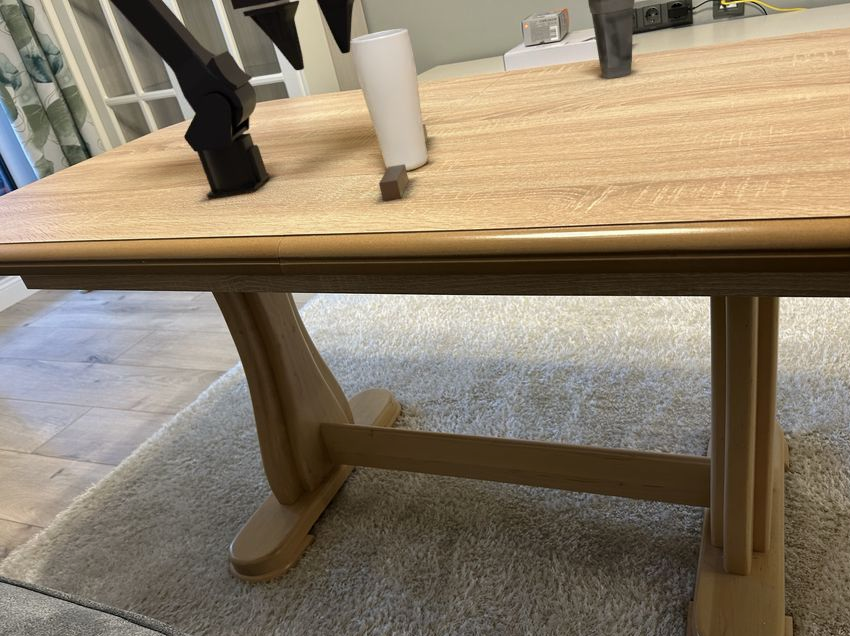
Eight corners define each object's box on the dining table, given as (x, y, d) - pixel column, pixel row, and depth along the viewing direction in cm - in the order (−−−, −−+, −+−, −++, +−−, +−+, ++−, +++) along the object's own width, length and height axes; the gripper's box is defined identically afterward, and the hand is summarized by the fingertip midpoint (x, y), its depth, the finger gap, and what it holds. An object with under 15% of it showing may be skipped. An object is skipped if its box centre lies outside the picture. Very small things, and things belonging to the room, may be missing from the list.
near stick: (401, 198, 75) (396, 180, 74) (383, 201, 76) (378, 183, 75) (408, 181, 81) (405, 164, 80) (391, 183, 81) (387, 166, 80)
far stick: (422, 150, 92) (419, 135, 91) (407, 152, 92) (404, 137, 91) (428, 138, 97) (425, 124, 96) (413, 141, 97) (410, 126, 96)
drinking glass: (427, 171, 83) (398, 34, 75) (373, 178, 84) (340, 44, 77) (440, 154, 88) (415, 25, 81) (389, 160, 90) (360, 34, 83)
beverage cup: (585, 77, 114) (572, -64, 104) (626, 67, 115) (617, -74, 105) (606, 82, 108) (595, -68, 98) (649, 71, 109) (642, -78, 99)
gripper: (285, -103, 66) (331, 72, 73) (390, -111, 79) (419, 38, 87) (201, -80, 71) (252, 82, 79) (314, -91, 85) (347, 48, 92)
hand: (323, 61), depth 84 cm, fingers open, 9 cm apart
